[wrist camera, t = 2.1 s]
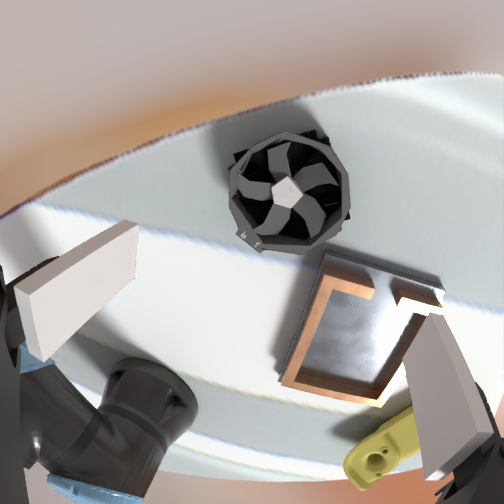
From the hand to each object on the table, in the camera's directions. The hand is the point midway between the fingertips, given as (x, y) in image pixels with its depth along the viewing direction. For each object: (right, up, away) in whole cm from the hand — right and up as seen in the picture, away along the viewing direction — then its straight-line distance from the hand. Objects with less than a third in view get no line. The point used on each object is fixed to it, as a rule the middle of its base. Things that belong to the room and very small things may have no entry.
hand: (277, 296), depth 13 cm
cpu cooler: (+3, +8, +17) cm, 19 cm away
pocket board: (+11, -8, +22) cm, 26 cm away
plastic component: (+22, -25, +26) cm, 42 cm away
